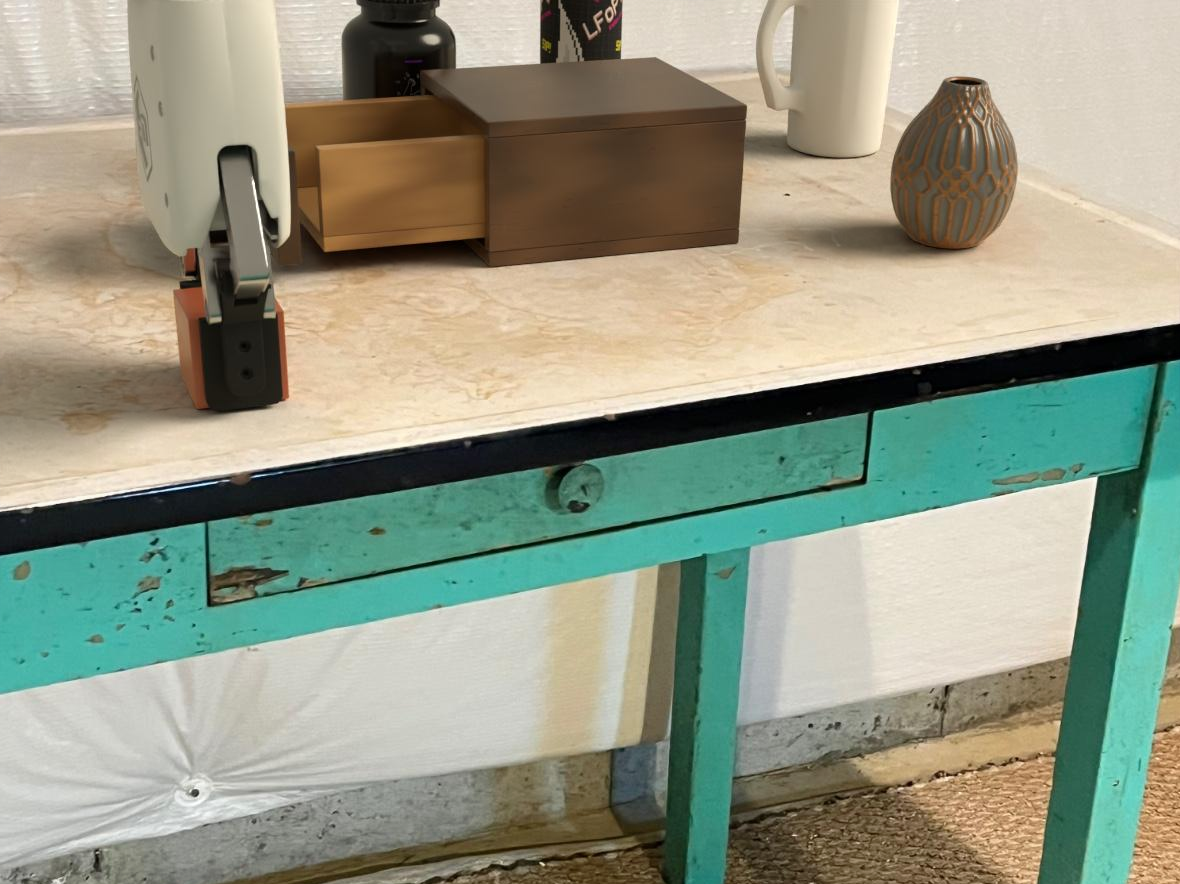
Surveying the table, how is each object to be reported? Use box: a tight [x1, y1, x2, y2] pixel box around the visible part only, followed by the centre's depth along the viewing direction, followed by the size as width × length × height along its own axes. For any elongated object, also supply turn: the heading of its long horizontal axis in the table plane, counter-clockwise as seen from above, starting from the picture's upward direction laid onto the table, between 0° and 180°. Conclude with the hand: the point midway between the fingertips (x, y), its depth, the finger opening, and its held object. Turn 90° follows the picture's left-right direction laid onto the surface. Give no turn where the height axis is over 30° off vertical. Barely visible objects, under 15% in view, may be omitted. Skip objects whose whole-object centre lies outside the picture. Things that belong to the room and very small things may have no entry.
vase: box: [889, 75, 1019, 250], centre depth 94 cm, size 7×7×9 cm
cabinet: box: [420, 56, 748, 268], centre depth 95 cm, size 15×13×8 cm
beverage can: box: [539, 0, 624, 64], centre depth 119 cm, size 6×6×12 cm
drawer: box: [269, 95, 485, 267], centre depth 91 cm, size 19×11×6 cm, turn 111°
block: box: [172, 287, 290, 410], centre depth 73 cm, size 4×4×4 cm
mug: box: [755, 0, 900, 158], centre depth 110 cm, size 10×7×12 cm, turn 118°
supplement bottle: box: [341, 0, 457, 100], centre depth 102 cm, size 7×7×12 cm
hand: (233, 380), depth 74 cm, fingers closed on block, 4 cm apart
